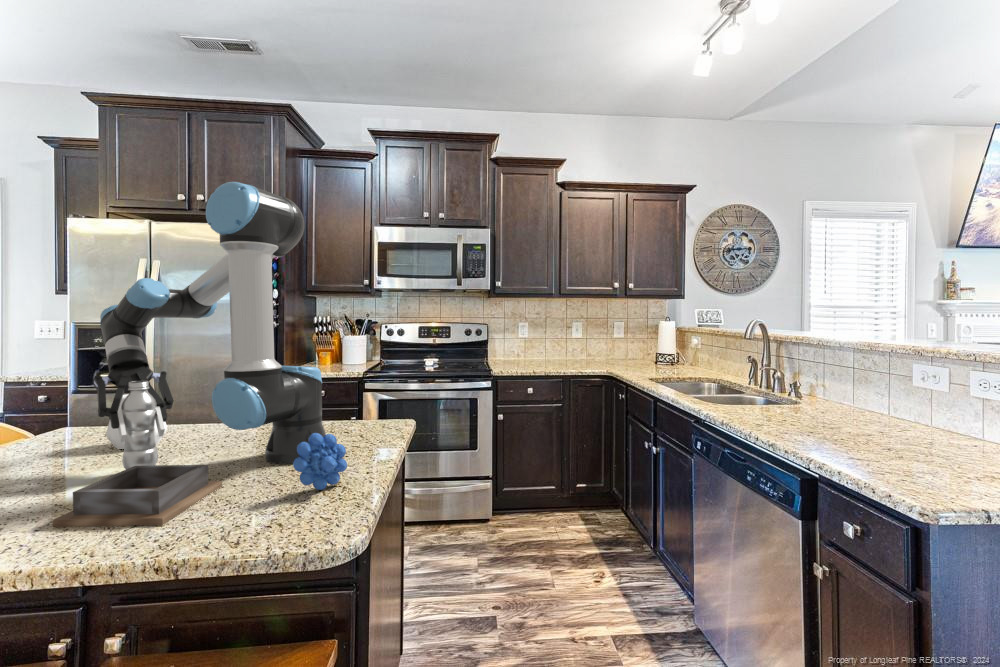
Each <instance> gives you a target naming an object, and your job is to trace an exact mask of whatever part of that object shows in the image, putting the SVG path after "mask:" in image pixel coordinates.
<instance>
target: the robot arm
mask: <svg viewBox="0 0 1000 667" xmlns="http://www.w3.org/2000/svg"><path fill="white" fill-rule="evenodd" d="M205 219H206V222H207V224H208V225H209V226H210V229H211V230H212V231H214V232H215V233H217V234H218V235H219V246H220V247H221V248H222V249H223V250H224V251H225V252H226V253H227V254H226V255H225V256H224V257H222V258H221V259H219V260H218V261H217V262H216V263H214V264H213V265H212V266H211V267H210V268H209V269H207V270H206V271H205V272H204V273H203V274H201V275H200V276H199V277H197V278H196V279H195V280H194V281H193V282H191V283H190V284H189V285H187V286H185V288H184V289H172V288H168V287H167V285H165V283H163V282H161V281H159V280H155V279H154V278H151V277H150V278H149V277H144V278H139V279H138V280H136V281H135V283H134V284H133V285H131V287H130V288H128V289H127V291H126V293H125V294H124V296H123V297H122V299H121V300H120V301H119V303H118V304H113V305H110V306H109V307H106V308H104V309H103V310H102V311H101V313H100V320H99V324H100V325H99V326H100V329H101V333H102V334H101V335H102V338H103V344H104V347H105V354H106V359H107V367H108V375H106V376H100V375H96V376H94V379H93V387H94V388H95V389H96V392H97V416H98V417H100V418H103V417H108V419H109V421H111V427H112V428H113V429H116V428H118V430H119V436H120V442H121V443H122V442H125V440H126V430H125V424H124V419H123V413H122V411H118V409H119V406H120V403H121V400H122V397H123V395H125V394H124V393H125V392H126V391H127V392H128V388H129V385H128V383H129V382H133V381H148V382H149V389H148V392H149V393H150V394H151V395H152V396H153V397H154V399H155V400H156V403H157V407H156V414H155V420H156V425H157V429H158V434H159V437H160V436H163V437H164V435H165V434H164V431H165V427H164V423H163V422H167V420H168V413H167V410H171V409H172V408H173V405H174V398H173V396H172V392H171V390H170V389H171V388H170V387H169V384H168V381H167V379H166V378H167V373H168V372H166V371H161V372H160V373H159V372H154V371H153V370H151V368H150V364H149V361H148V356H147V351H146V348H145V343H144V339H143V338H144V337H143V335H142V333H143V330H144V329H145V328H147V326H148V325H149V324H150V322H151V321H152V320H153V319H155V318H156V319H158V318H160V319H164V318H165V319H167V318H168V319H175V318H180V319H182V318H183V319H202V318H208V317H211V316H212V315H213V314H214V313H215V310H216V309H217V306H218V303H217V302H219V301H220V300H221V299H222V298H224V297H225V296H226V295H228V294H229V315H230V316H229V319H230V324H229V325H230V350H231V352H230V353H231V361H230V362H229V364H228V365H226V366H225V367H224V368H223V379H221V380H220V381H219V382H218V383H216V385H215V387H214V388H213V390H212V393H211V404H212V409H213V412H214V413H215V415H216V417H217V418H218V420H219V421H221V422H222V423H223V425H225V426H226V427H228V428H229V429H231V430H237V431H245V430H248V429H257V428H260V427H262V426H265V425H268V424H272V428H271V432H270V434H269V438H268V441H267V444H266V447H265V450H264V451H265V454H264V456H265V457H264V458H265V461H267V462H268V463H273V464H279V465H280V464H282V465H283V464H284V465H287V464H291V465H292V464H293V462H294V460H295V459H296V458H298V457H301V456H300V455H299V454H298V452H297V446H298V445H299V444H300V443H301V442H308V443H309V437H310V435H311V434H313V433H319V434H320V435H322V437H324V436H325V435H327V433H326V430H325V428H324V425H323V397H322V396H323V380H322V372H321V370H320V368H318V367H316V366H302V365H300V366H299V365H282V364H280V362H278V361H277V360H276V359H275V337H274V336H275V335H274V334H275V333H274V302H273V301H274V300H273V265H272V260H274V259H275V258H283V257H284V256H286V255H287V254H288V253H289V252H290V251H292V250H293V249H294V248H295V247H296V246H297V245H298V243H299V242H300V241H301V239H302V237H303V235H304V231H305V218H304V214H303V213H302V210H301V209H300V207H298V205H297V204H296V203H295V202H293V201H292V200H290V199H289V198H287V197H285V196H282V195H278V194H276V193H272V192H269V191H268V190H264V189H262V188H259V187H255V186H254V185H252V184H250V183H249V184H248V183H247V184H245V183H242V182H239V181H229V182H225V183H223V184H220V185H219V186H218V187H216V188H215V190H214V192H212V193H211V194H210V196H209V197H208V200H207V202H206V206H205ZM152 379H154V381H155V382H156V383H157V386H158V389H159V392H160V395H161V396H160V395H159V394H158V393H157V391H156V390H155V388H154V387H153V386H152V385H151V382H150V381H151V380H152ZM108 382H109V383H111V384H112V385H114V386H115V387H116V391H115V394H114V397H113V401H112V403H111V405H110V407H107V393H106V392H107V391H106V388H107V386H108Z"/></svg>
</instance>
